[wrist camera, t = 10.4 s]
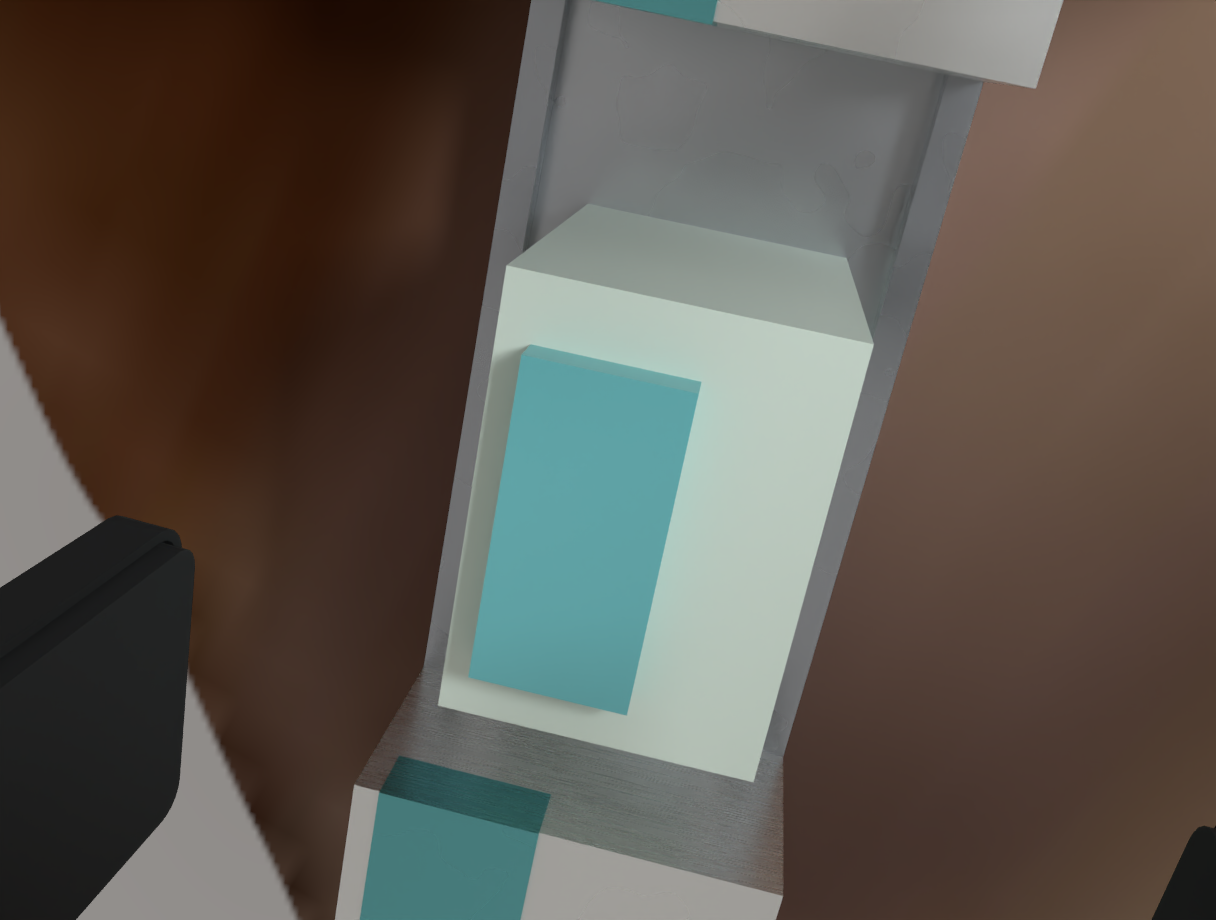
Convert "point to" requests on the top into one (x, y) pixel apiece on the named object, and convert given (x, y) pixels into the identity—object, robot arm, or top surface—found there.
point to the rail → (889, 293)
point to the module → (652, 485)
